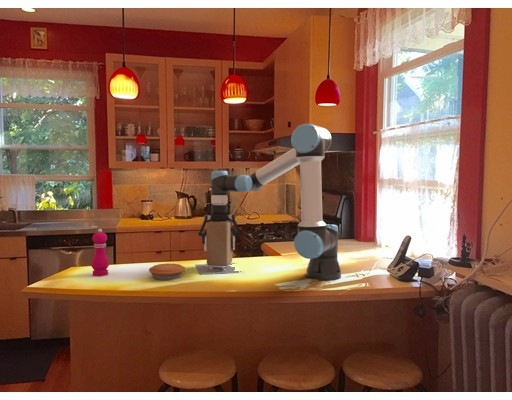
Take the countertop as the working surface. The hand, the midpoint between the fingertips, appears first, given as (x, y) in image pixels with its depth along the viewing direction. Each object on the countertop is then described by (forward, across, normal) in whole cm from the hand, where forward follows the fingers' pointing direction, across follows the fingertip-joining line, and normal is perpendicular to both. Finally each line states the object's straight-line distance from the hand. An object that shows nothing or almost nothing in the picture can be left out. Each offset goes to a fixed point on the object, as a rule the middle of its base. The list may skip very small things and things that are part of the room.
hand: (219, 250), depth 197 cm
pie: (+9, +24, +11) cm, 28 cm away
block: (+7, 0, 0) cm, 7 cm away
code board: (+9, 0, 0) cm, 9 cm away
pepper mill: (+8, +52, +2) cm, 53 cm away
